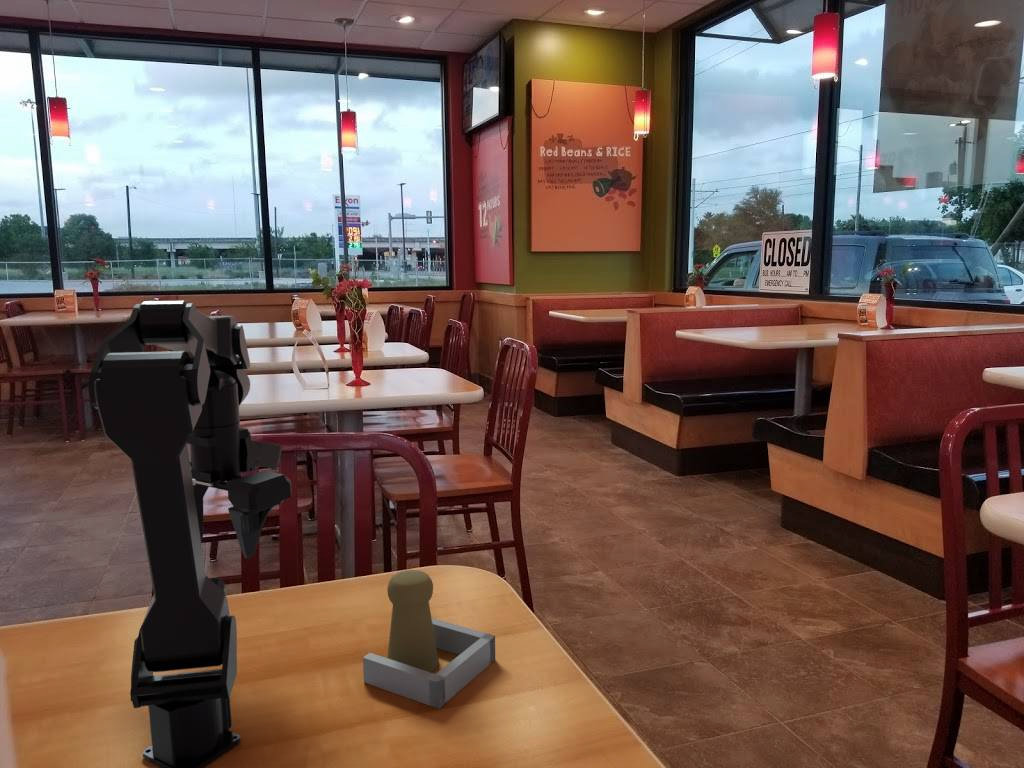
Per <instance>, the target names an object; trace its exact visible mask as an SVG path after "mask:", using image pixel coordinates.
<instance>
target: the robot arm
mask: <svg viewBox="0 0 1024 768" xmlns="http://www.w3.org/2000/svg"><path fill="white" fill-rule="evenodd" d="M246 340H247V339H246V336H245V330H244V326H243V325H242V324H238V320H237V318H236V316H235V315H207V314H205V313H203V312H202V311H200V310H198V309H197V306H196V304H195V303H194V302H188V301H187V300H146V301H145V300H144V301H142V302H141V303H136V304H134V305H133V307H132V311H131V314H130V318H129V319H128V321H126V322H125V323H123V324H122V325H121V326H120V327H119V328H117V329H116V330H115V331H113V332H111V334H109V335H108V336H107V337H105V339H102V341H101V342H100V344H99V347H98V350H97V352H96V356H95V358H94V361H93V365H92V367H91V369H90V370H91V371H90V373H89V378H88V393H89V395H88V396H89V398H90V402H91V403H90V404H92V406H93V408H95V409H96V410H97V413H98V415H99V419H100V423H101V427H102V430H103V434H104V436H105V437H106V438H107V439H108V440H109V441H110V442H112V443H113V445H114V446H116V447H117V448H118V449H119V450H120V451H121V452H122V453H123V454H124V455H125V456H126V457H127V458H129V460H130V463H131V468H132V472H133V475H132V476H133V479H134V486H135V491H136V497H137V503H138V509H139V515H140V521H141V526H142V532H143V537H144V544H145V550H146V555H147V556H146V557H147V560H148V568H149V573H150V579H151V583H152V584H151V585H152V590H153V594H152V595H153V596H152V597H151V600H150V602H149V605H148V608H147V611H146V613H145V616H144V618H143V621H142V622H141V625H140V628H139V630H138V636H137V637H136V638H135V639H134V642H133V643H134V644H133V652H132V661H131V662H132V663H131V673H130V691H129V695H130V701H131V703H132V706H133V709H141V707H142V708H143V707H148V716H149V726H150V727H149V729H150V739H151V745H150V746H148V747H146V748H145V749H143V750H142V758H143V759H146V760H147V761H149V762H151V763H153V764H156V765H157V766H159V767H162V768H204V767H205V766H207V765H208V764H209V763H211V762H213V761H214V760H216V759H217V758H218V757H220V756H222V755H223V754H224V753H226V752H227V751H229V750H230V749H232V748H233V747H234V746H236V745H238V744H240V742H241V735H240V734H238V733H235V732H233V731H231V730H230V729H232V710H231V698H230V697H231V694H232V692H233V688H234V685H235V681H236V679H237V675H238V674H237V673H238V651H237V650H238V637H237V636H238V631H237V630H238V629H237V619H236V616H235V615H234V614H233V615H231V614H230V608H229V604H228V598H227V592H226V583H225V582H224V581H223V580H222V578H221V577H211V578H210V577H208V576H207V574H206V568H205V562H204V553H203V547H202V542H203V539H204V538H203V537H204V497H205V495H206V494H207V491H208V490H209V488H213V489H218V490H223V491H227V496H228V497H227V499H228V501H229V502H230V503H231V505H232V506H231V507H228V508H227V509H228V510H227V511H228V514H229V516H230V519H231V523H232V525H233V528H234V531H235V535H236V537H237V540H238V544H239V547H240V550H241V552H242V554H243V556H244V558H245V559H249V558H252V557H254V555H255V553H256V550H257V547H258V544H259V540H260V537H261V533H262V531H263V527H264V524H265V521H266V520H267V518H268V514H269V513H270V512H271V511H272V509H273V508H274V507H276V506H278V505H281V504H282V503H283V501H285V500H287V499H290V498H292V482H291V481H292V480H291V479H290V478H289V477H288V476H286V474H283V473H278V472H275V471H278V468H279V464H280V459H281V455H282V449H283V445H279V444H274V443H269V442H268V443H267V442H264V441H263V442H262V441H256V440H252V436H251V431H250V430H249V428H245V427H241V419H240V405H241V404H242V403H243V402H244V401H245V399H246V398H247V396H248V395H249V393H250V390H251V380H250V378H249V375H248V374H247V372H246V371H245V370H248V369H249V368H250V367H251V361H250V355H249V352H248V345H247V341H246ZM146 346H158V347H161V348H163V349H167V350H168V351H145V349H146ZM256 467H259V468H263V467H264V468H269V469H270V470H272V471H270V470H269V471H268V470H261V471H258V472H255V473H251V474H247V475H245V476H243V473H250V472H254V471H256ZM213 667H221V668H217V669H208V670H207V669H206V668H213ZM203 668H205V669H206V670H197V671H187V672H178V673H165V674H156V675H154V673H164V672H171V671H173V672H174V671H181V670H182V671H183V670H192V669H203Z"/></svg>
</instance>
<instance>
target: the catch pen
mask: <svg viewBox="0 0 1024 768" xmlns="http://www.w3.org/2000/svg"><path fill="white" fill-rule="evenodd" d="M431 618H432V624H433V630H434V636H435V642H436V648H437V649H439V650H442V651H445V652H449V653H452V654H455V655H457V656H456V657H455V658H454V659H452V660H451V661H450V662H449V663H448V664H446V665H445V666H444V667H442V668H441V669H440V670H439V671H437V672H436V673H433V672H428V671H425V670H421V669H418V668H415V667H412V666H409V665H406V664H403V663H400V662H397V661H394V660H391V659H388V658H387V657H384V656H382V655H378V654H375V653H374V652H373V653H372V652H369V653H367V654H366V655H364V656H363V657H362V667H363V668H362V669H363V671H362V672H363V683H364V684H367V685H370V686H373V687H376V688H378V689H382V690H385V691H386V692H387V691H388V692H390V693H393V694H395V695H398V696H401V697H404V698H406V699H409V700H412V701H415V702H417V703H421V704H424V705H426V706H429V707H433V708H435V709H438V710H439V709H441V708H442V707H443V706H444V705H445V704H446V703H448V701H449V700H451V699H452V698H453V697H454V696H455V695H457V694H458V692H460V691H461V690H462V689H463V688H464V687H466V686H467V685H468V684H469V683H471V682H472V681H473V680H474V679H475V678H476V677H477V676H479V674H481V673H482V672H483V671H484V670H485V669H487V668H488V667H489V666H490V665H491V664H492V663H493V662H495V660H496V635H494V634H490V633H487V632H483V631H479V630H476V629H473V628H469V627H465V626H461V625H458V624H455V623H451V622H448V621H444V620H441V619H437V618H433V617H431Z"/></svg>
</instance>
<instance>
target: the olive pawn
mask: <svg viewBox="0 0 1024 768" xmlns="http://www.w3.org/2000/svg"><path fill="white" fill-rule="evenodd" d="M386 591H387V596H388V600H389V601H390V603H391V604H392V609H391V619H390V626H389V627H390V630H389V637H388V638H389V639H388V646H387V647H388V648H387V657H386V658H388V659H391V660H394V661H397V662H400V663H403V664H406V665H409V666H412V667H415V668H418V669H421V670H425V671H428V672H431V673H433V672H434V671H435V670H436V669H437V667H438V666H439V655H438V650H437V649H438V648H436V642H435V636H434V630H433V624H432V618H433V617H432V613H431V607H430V600H431V598H432V597H433V593H434V583H433V580H432V579H431V577H430V575H429V574H428V573H426V572H424V571H423V570H422V571H421V570H417V569H416V570H415V569H408V570H407V569H406V570H402V571H399V572H397V573H395V574H394V575H392V576H391V578H390V579H389V581H388V584H387V590H386Z"/></svg>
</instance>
